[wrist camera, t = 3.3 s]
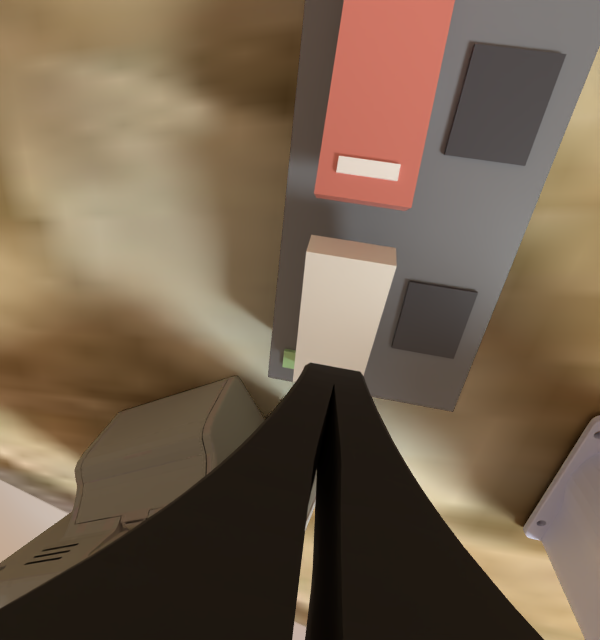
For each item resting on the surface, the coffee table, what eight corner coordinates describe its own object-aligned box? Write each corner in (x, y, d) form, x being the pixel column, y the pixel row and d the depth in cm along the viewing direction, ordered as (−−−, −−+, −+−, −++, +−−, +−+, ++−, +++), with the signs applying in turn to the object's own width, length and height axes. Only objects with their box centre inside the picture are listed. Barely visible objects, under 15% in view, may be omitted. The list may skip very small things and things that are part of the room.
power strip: (437, 365, 19) (455, 421, 15) (282, 337, 20) (264, 385, 16) (835, -776, 7) (1368, -1794, 3) (409, -760, 8) (455, -1607, 4)
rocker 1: (405, 210, 11) (412, 207, 10) (316, 197, 11) (313, 192, 10) (455, -32, 10) (469, -66, 8) (353, -42, 10) (355, -77, 9)
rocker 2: (359, 374, 15) (357, 396, 15) (297, 363, 16) (292, 383, 15) (395, 247, 11) (396, 268, 11) (311, 234, 12) (305, 253, 11)
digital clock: (126, 491, 27) (4, 679, 18) (69, 392, 24) (-123, 562, 14) (346, 483, 24) (337, 712, 14) (318, 364, 20) (281, 567, 11)
